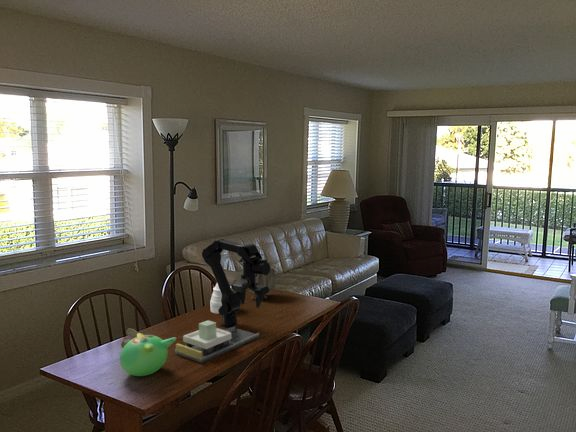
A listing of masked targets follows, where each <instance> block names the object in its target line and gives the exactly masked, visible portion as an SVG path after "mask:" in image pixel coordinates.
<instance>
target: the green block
mask: <svg viewBox="0 0 576 432" xmlns="http://www.w3.org/2000/svg"><path fill="white" fill-rule="evenodd" d="M216 328H217V322H215V321H212V320H209V319H207V320H205V321H202V322H199V323H198V330H199V338H202V339H205V340H209V339H212V338H214V337H217V335H216Z"/></svg>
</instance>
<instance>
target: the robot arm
mask: <svg viewBox="0 0 576 432" xmlns="http://www.w3.org/2000/svg"><path fill="white" fill-rule="evenodd" d="M224 251H227V252H231V253H234V254H237V256H238V257H241V258H240V259H239V260H238V262H239V263H242V274H241V275H240V279H238V280H236V281H233V282H232V283H231V284H230V283H229V280H228V278H227V276H226V273H225V270H224V267H223V265H222V263H221V261H222V254H221V253H222V252H224ZM201 256H202V258H203V261H204V262H205V264H206V265H208V266H209V267H210V269H211V271H212V273H213V276H214V278H215V281H216V284H218V286H219V289H220V291H221V293H222V298H221V303H222V306H221V307H220V308H219V309H218V311H219V314H218V315H220V316H221V320H222V323H221V324H219V326H221V327H223V328H226V329H228V328H231V327H233V326H235V327H236V326H239V323H238V322H237V321H238V319H237V312H239V311H240V307H241V305H245V301H246V295H247V294H246V292H247V291H249V290H254V292H255V293H254V294H253V296H254V295H255V297H254V298H255V302H256V303H255V305H256V308H257V309H259V308H260V307H261V304H262V302H263V299H264V296H265V294H266V295H267V294H268V293H270V291H269V287H268V286H264V285H261V286H258V287H256V285H258V283H256V277H257V276H258V274H260V275H268V274H269V272H270V267H271V265H270V263H269V262H268V259H266V258H265V259H264V258H263V256H262V255H261V253H260V252H259V249H258V248H257V246H256V244H254V243H243V244H242V243H239V242H235V241H230V240H227V239H224V238H219V239H215V240H214V241H213V242H212V243H211V244H209V245H208V246H207V247H205V248H204V249H202V252H201ZM263 259H264V260H263ZM230 286H231V287H230ZM231 289H232V290H231Z"/></svg>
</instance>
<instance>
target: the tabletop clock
mask: <svg viewBox="0 0 576 432" xmlns="http://www.w3.org/2000/svg"><path fill="white" fill-rule="evenodd" d="M260 255H261V256H262V257H264V258H262V259H263V260H264V259H265V260H266V255H265V254H263V253H260ZM256 283H258V285H256V287H258V286H261V285H264V286H268V287H269V292H271V291H273V290H274V289H275V288H276V271H275V268H274V267H272V266H270V272H269V274H268V275H260V274H258V276H257V277H256ZM248 292H249V293H254V294H255V292H254V290H249V289H248ZM254 294H253V296H251V300H255V298H256V297H255V295H254ZM267 298H268V296H267V294H265V296H264V297H263V299H267Z"/></svg>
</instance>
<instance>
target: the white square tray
mask: <svg viewBox="0 0 576 432" xmlns="http://www.w3.org/2000/svg"><path fill="white" fill-rule="evenodd" d="M216 335H217V337H214V338H212V339H209V340H205V339H202V338H199V329H198V330H196V331H193V332H190V333H187V334H184V335H183V336H182V341H183V342H184V343H185V345H186V346H187V347H192V346H193V345H195V346H198V347H201V348H204V349H206V353H207V354H211V353H212V352H213V348H212V347H213V346H215V345H218V344H220V343H222V346H223V347H227V346H228V345H229V343H230V339H232V335H231V333H230V332H229V331H226V329H222V328H219V327H216Z"/></svg>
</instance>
